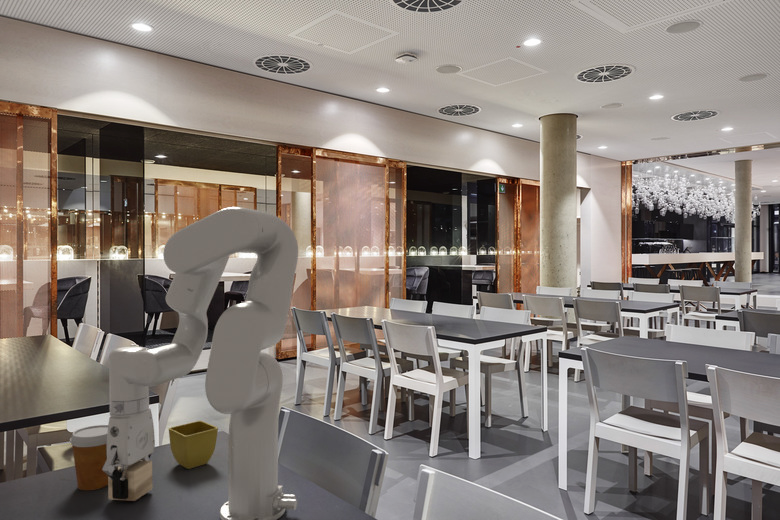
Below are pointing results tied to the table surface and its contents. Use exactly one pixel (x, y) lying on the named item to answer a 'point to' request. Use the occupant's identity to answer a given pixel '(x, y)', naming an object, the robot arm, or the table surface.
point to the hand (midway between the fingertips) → (130, 490)
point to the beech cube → (136, 480)
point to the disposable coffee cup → (90, 456)
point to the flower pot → (193, 443)
